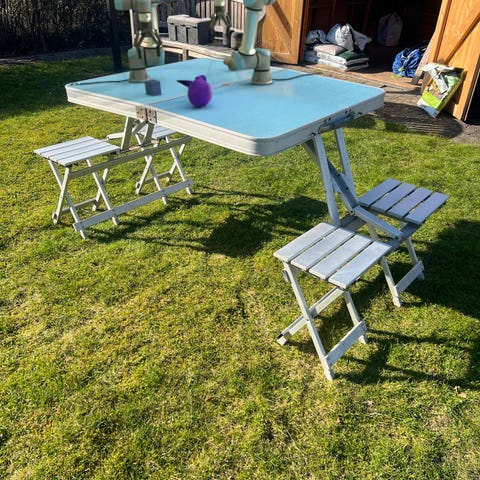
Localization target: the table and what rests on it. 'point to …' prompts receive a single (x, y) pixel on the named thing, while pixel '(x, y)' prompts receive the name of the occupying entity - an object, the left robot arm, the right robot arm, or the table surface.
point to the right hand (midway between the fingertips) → (220, 37)
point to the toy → (198, 91)
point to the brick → (153, 87)
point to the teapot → (230, 62)
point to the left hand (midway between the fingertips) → (149, 57)
